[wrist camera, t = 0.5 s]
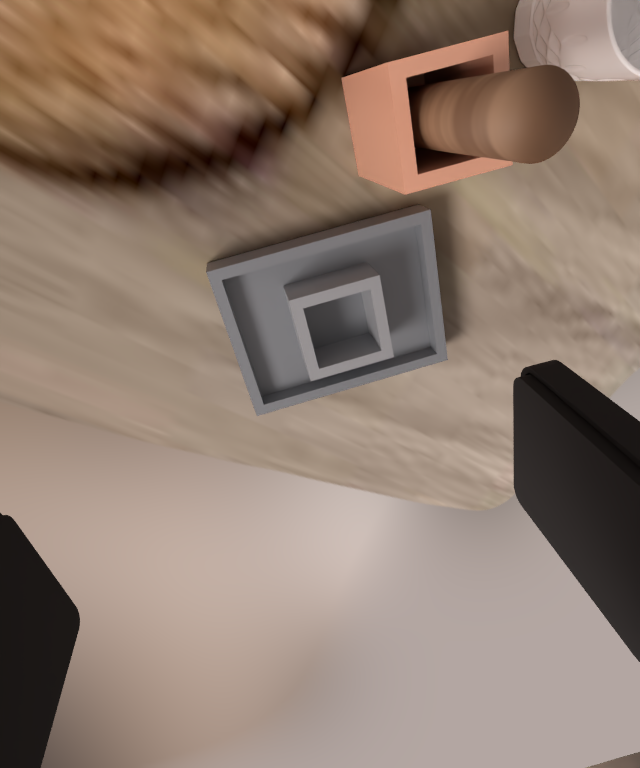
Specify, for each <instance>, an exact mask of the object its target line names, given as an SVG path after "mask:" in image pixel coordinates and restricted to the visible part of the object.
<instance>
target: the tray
mask: <svg viewBox="0 0 640 768" xmlns="http://www.w3.org/2000/svg"><path fill="white" fill-rule="evenodd" d="M206 273H207V276H208V278H209V281H210V284H211V287H212V290H213V293H214V295H215V298H216V301H217V304H218V307H219V310H220V313H221V315H222V318H223V321H224V324H225V327H226V330H227V332H228V335H229V338H230V341H231V344H232V347H233V349H234V352H235V355H236V358H237V361H238V364H239V366H240V369H241V372H242V375H243V378H244V381H245V384H246V386H247V389H248V392H249V395H250V398H251V401H252V403H253V406H254V409H255V412H256V415H257V416H259V415H262V414H265V413H269V412H272V411H276V410H279V409H282V408H286V407H289V406H293V405H296V404H299V403H303V402H306V401H310V400H313V399H316V398H320V397H323V396H327V395H330V394H333V393H337V392H340V391H344V390H347V389H350V388H354V387H357V386H360V385H364V384H367V383H371V382H374V381H377V380H381V379H384V378H388V377H391V376H394V375H398V374H401V373H405V372H408V371H411V370H415V369H418V368H422V367H425V366H428V365H432V364H435V363H439V362H442V361H445V360H448V359H447V350H446V341H445V332H444V323H443V314H442V306H441V297H440V288H439V279H438V270H437V262H436V253H435V244H434V235H433V226H432V217H431V209H428V208H426V207H423V206H421V205H419V204H418V205H415V206H411V207H407V208H404V209H400V210H397V211H393V212H389V213H386V214H382V215H379V216H375V217H372V218H368V219H364V220H361V221H357V222H354V223H350V224H346V225H343V226H339V227H336V228H332V229H328V230H325V231H321V232H318V233H314V234H311V235H307V236H303V237H300V238H296V239H293V240H289V241H285V242H282V243H278V244H275V245H271V246H268V247H264V248H260V249H257V250H253V251H250V252H246V253H242V254H239V255H235V256H232V257H228V258H224V259H221V260H217V261H214V262H210V263H207V270H206Z"/></svg>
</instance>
